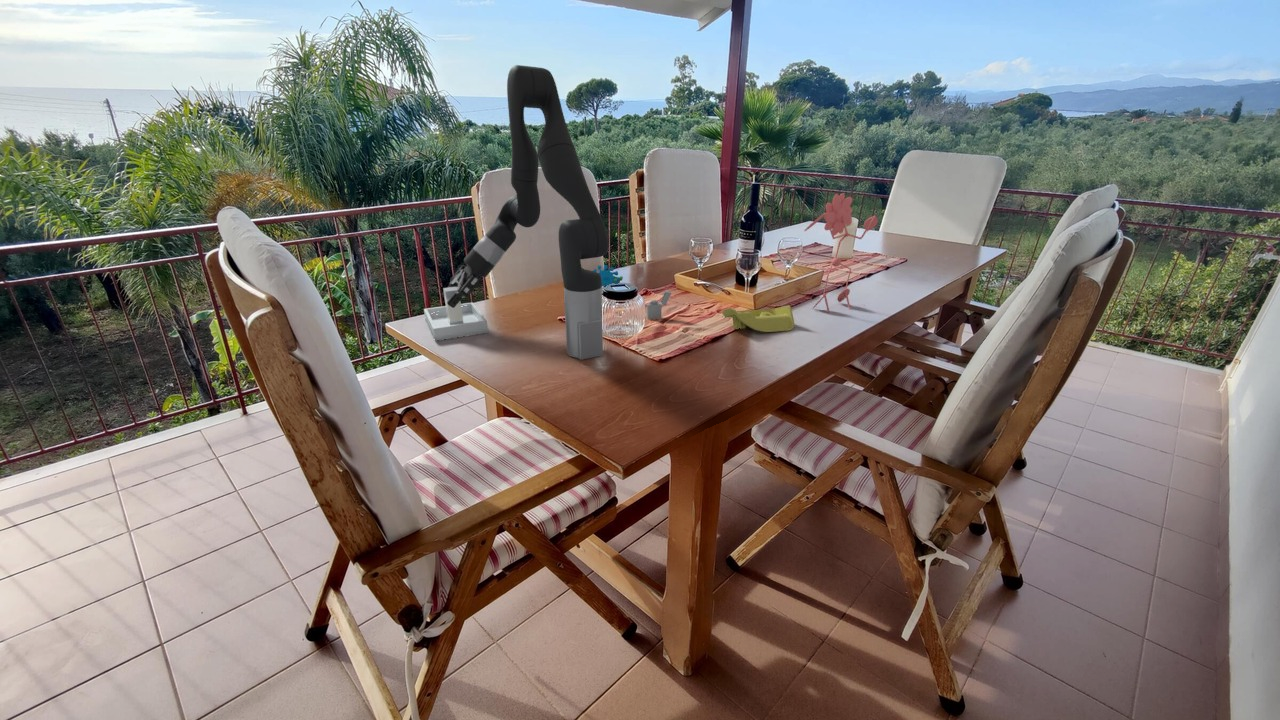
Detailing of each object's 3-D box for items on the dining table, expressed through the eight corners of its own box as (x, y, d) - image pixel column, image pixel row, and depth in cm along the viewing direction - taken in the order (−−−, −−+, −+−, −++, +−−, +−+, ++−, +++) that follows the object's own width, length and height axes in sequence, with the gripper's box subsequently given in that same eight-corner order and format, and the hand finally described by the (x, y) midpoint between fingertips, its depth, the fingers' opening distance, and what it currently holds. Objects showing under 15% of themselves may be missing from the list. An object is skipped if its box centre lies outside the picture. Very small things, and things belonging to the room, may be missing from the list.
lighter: (648, 318, 163) (648, 293, 159) (646, 317, 164) (647, 291, 161) (670, 317, 164) (671, 291, 161) (668, 315, 166) (669, 289, 163)
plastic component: (771, 309, 165) (793, 304, 156) (774, 333, 165) (795, 329, 156) (715, 312, 157) (734, 307, 148) (718, 337, 157) (737, 334, 148)
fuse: (463, 324, 154) (459, 289, 150) (450, 326, 152) (445, 291, 148) (460, 320, 157) (456, 286, 153) (447, 322, 155) (443, 288, 151)
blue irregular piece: (591, 287, 186) (592, 262, 190) (589, 295, 191) (589, 270, 195) (623, 290, 188) (623, 265, 192) (620, 298, 193) (620, 274, 197)
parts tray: (488, 332, 151) (486, 320, 149) (435, 341, 145) (433, 328, 143) (474, 313, 165) (472, 302, 164) (425, 320, 159) (423, 308, 158)
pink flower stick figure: (870, 305, 176) (889, 193, 162) (811, 318, 165) (826, 198, 151) (834, 294, 189) (849, 188, 175) (777, 304, 177) (788, 193, 164)
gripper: (468, 242, 155) (432, 286, 155) (479, 253, 143) (440, 300, 143) (489, 259, 159) (453, 302, 159) (501, 270, 148) (463, 316, 148)
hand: (447, 301), depth 151 cm, fingers open, 8 cm apart
